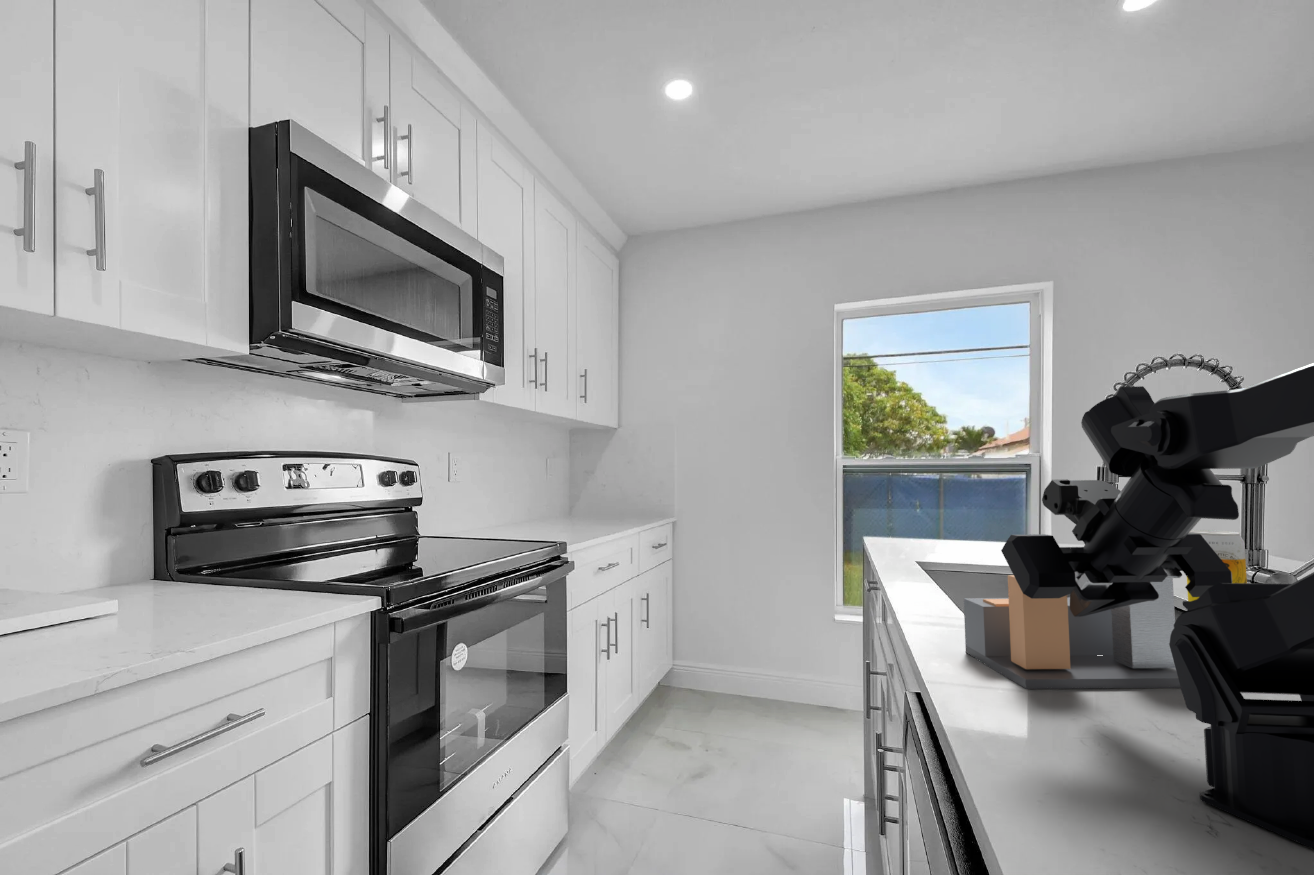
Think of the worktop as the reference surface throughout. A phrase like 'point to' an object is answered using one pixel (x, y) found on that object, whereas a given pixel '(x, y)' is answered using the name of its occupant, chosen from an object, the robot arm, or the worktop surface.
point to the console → (1086, 641)
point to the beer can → (1226, 552)
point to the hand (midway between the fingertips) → (1075, 612)
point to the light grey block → (1145, 630)
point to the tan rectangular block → (1038, 630)
